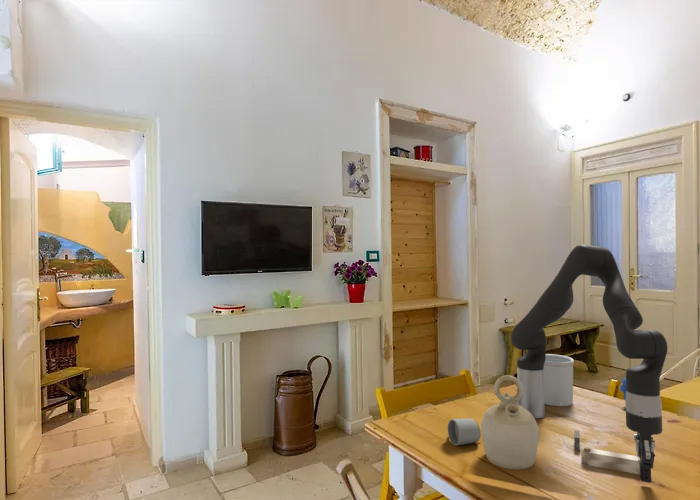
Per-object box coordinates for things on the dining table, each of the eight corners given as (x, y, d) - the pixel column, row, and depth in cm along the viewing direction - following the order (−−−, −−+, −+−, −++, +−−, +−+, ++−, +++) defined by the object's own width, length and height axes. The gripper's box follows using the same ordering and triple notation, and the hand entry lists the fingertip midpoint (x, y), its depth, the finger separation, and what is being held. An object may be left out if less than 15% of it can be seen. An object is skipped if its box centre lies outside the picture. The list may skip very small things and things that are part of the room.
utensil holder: (576, 398, 179) (575, 355, 179) (573, 409, 166) (572, 363, 166) (537, 393, 186) (536, 352, 187) (532, 403, 174) (531, 359, 174)
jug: (534, 482, 113) (532, 385, 113) (475, 468, 121) (473, 377, 122) (543, 459, 126) (541, 372, 126) (489, 447, 134) (487, 366, 135)
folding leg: (581, 464, 120) (581, 449, 120) (581, 459, 122) (581, 445, 122) (649, 476, 112) (648, 460, 113) (647, 471, 115) (647, 455, 115)
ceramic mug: (482, 445, 135) (481, 420, 135) (459, 449, 133) (458, 424, 133) (464, 433, 145) (463, 410, 146) (442, 436, 143) (441, 413, 143)
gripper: (623, 400, 116) (624, 466, 116) (628, 416, 104) (630, 490, 104) (657, 404, 112) (659, 472, 112) (666, 421, 101) (669, 497, 100)
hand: (645, 480), depth 108 cm, fingers closed
